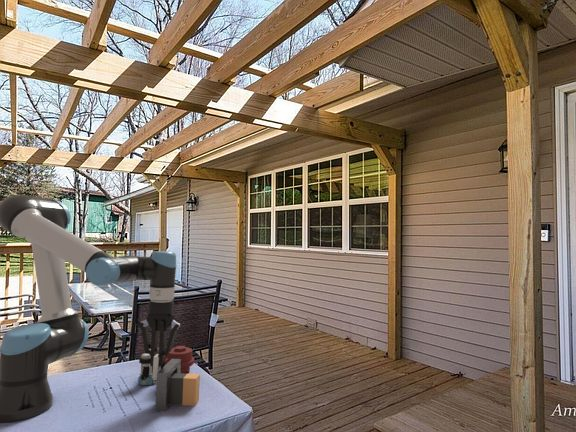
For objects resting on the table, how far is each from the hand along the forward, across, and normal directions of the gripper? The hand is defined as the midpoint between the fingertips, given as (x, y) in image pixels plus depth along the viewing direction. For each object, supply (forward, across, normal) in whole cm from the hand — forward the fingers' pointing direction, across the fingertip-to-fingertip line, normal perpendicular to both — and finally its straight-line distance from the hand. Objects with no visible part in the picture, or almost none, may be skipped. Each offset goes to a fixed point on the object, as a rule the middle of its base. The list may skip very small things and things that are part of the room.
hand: (156, 376), depth 115 cm
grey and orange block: (+7, +7, 0) cm, 10 cm away
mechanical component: (+8, +3, +15) cm, 17 cm away
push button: (+8, -8, +13) cm, 17 cm away
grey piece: (+7, +4, 0) cm, 9 cm away
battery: (+8, -7, +22) cm, 25 cm away
